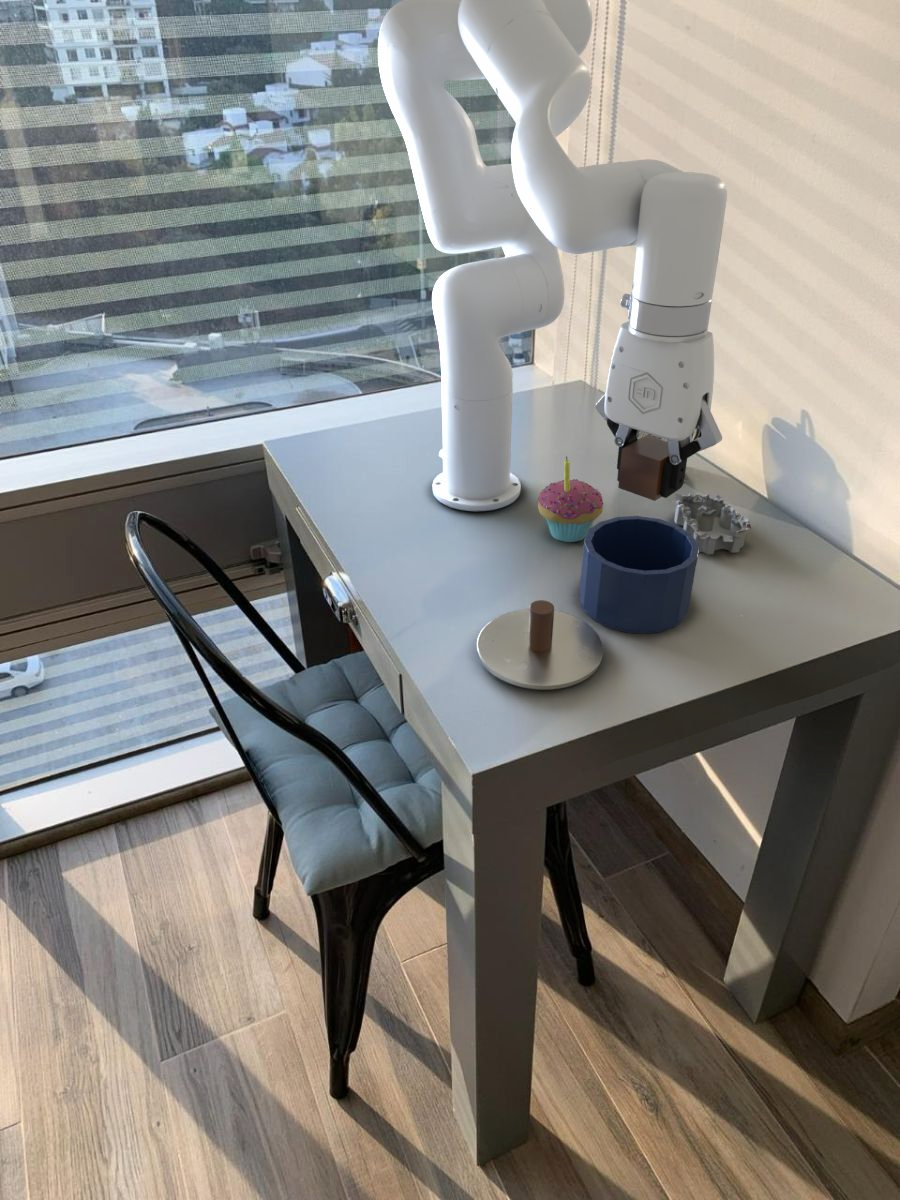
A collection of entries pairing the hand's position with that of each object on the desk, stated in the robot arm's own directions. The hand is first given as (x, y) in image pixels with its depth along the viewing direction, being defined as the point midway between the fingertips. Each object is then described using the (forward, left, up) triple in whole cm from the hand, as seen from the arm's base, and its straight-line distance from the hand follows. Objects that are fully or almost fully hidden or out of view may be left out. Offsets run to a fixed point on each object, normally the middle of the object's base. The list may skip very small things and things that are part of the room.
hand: (648, 483), depth 96 cm
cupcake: (-17, +2, -16) cm, 23 cm away
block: (0, 0, 0) cm, 0 cm away
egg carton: (-8, +18, -16) cm, 25 cm away
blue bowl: (0, 0, -16) cm, 16 cm away
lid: (+3, -15, -15) cm, 21 cm away
